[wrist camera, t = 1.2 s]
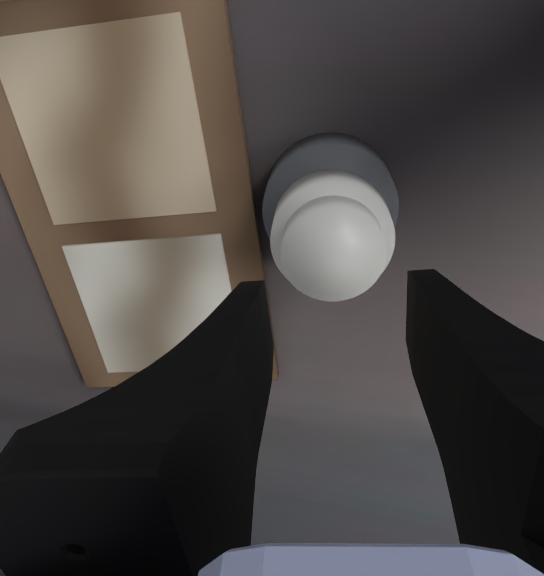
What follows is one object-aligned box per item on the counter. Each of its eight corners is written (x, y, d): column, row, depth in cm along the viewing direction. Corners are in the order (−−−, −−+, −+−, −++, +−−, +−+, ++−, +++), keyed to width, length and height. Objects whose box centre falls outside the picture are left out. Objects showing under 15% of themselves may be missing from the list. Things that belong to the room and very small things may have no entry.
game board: (167, -418, 12) (160, -438, 11) (278, 373, 24) (278, 381, 24) (-189, -328, 13) (-210, -342, 12) (90, 381, 25) (85, 388, 25)
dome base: (392, 126, 18) (400, 137, 16) (391, 248, 20) (398, 268, 19) (258, 139, 18) (253, 152, 17) (274, 256, 21) (270, 277, 19)
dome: (389, 163, 15) (401, 187, 13) (389, 272, 17) (399, 308, 15) (266, 175, 16) (259, 199, 14) (279, 279, 18) (275, 315, 16)
